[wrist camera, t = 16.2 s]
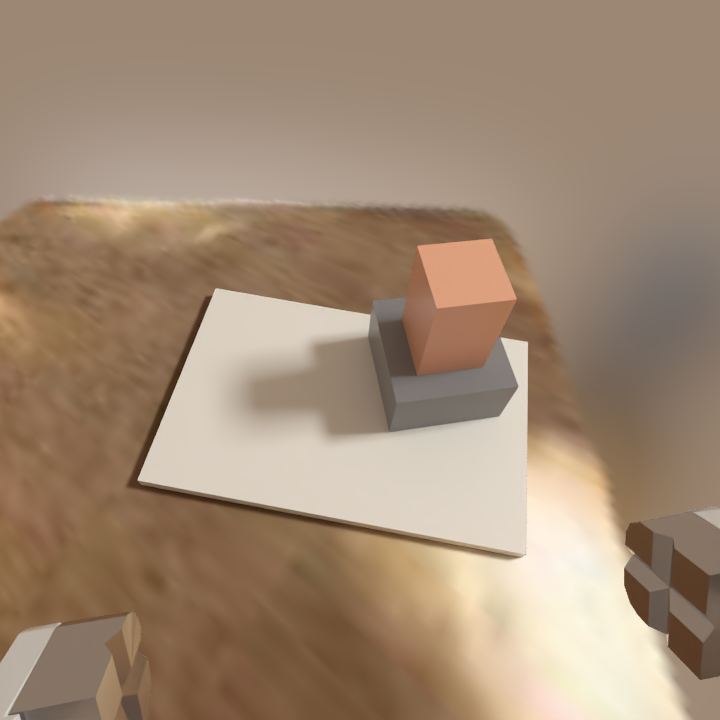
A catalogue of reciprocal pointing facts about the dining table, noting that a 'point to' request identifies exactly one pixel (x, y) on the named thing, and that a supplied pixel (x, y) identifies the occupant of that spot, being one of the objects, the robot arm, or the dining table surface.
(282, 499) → the baseplate
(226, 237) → the dining table surface
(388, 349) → the foundation block
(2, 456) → the dining table surface
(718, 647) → the robot arm
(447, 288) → the pillar block
